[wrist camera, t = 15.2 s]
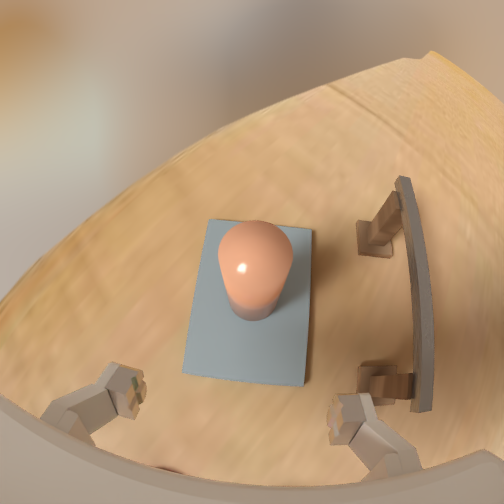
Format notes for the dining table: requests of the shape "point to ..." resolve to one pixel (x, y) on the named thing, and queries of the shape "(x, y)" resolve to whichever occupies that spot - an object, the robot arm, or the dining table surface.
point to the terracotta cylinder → (254, 267)
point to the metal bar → (418, 299)
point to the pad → (249, 332)
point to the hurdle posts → (379, 245)
